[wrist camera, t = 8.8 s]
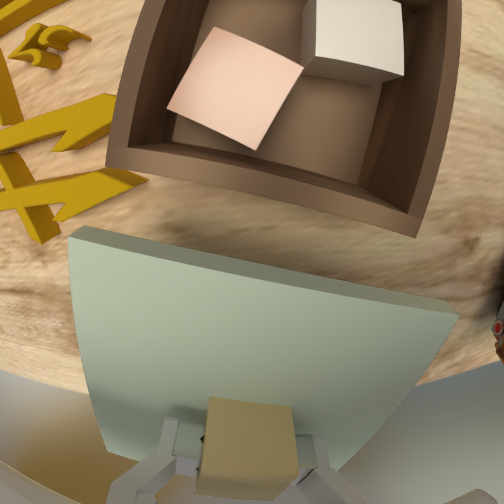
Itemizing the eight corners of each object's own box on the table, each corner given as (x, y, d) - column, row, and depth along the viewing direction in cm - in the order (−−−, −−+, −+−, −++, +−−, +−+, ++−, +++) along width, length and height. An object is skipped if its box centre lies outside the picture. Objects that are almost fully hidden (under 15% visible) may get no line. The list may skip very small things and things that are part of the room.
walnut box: (398, 27, 12) (461, -7, 6) (358, 197, 17) (415, 238, 10) (209, -24, 11) (189, -89, 5) (160, 152, 16) (104, 166, 9)
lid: (447, 300, 9) (504, 367, 5) (323, 467, 14) (332, 519, 10) (84, 225, 8) (1, 286, 4) (111, 438, 13) (94, 491, 9)
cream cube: (370, 26, 12) (400, 3, 8) (370, 86, 13) (404, 76, 9) (302, 12, 11) (316, -19, 8) (299, 74, 13) (315, 55, 9)
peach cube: (291, 83, 13) (304, 67, 10) (254, 146, 15) (255, 150, 11) (223, 51, 13) (214, 26, 9) (187, 114, 14) (166, 108, 10)
